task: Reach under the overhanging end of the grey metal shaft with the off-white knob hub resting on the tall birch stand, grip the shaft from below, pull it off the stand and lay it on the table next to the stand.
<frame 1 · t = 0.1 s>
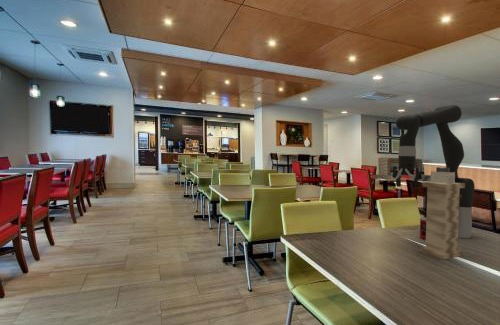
hand: (406, 187, 137), 29 cm above the table, tool pointing down, fingers open, 8 cm apart
stand: (441, 253, 125), on the table
knob shaft: (430, 181, 130), point 33 cm above the table, touching stand
canned food: (427, 239, 148), on the table
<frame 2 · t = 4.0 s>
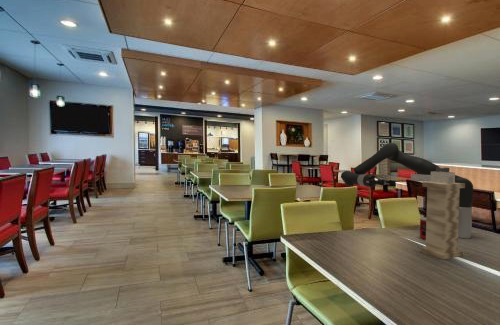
hand: (389, 183, 151), 30 cm above the table, tool horizontal, fingers open, 8 cm apart
nothing on the table moved.
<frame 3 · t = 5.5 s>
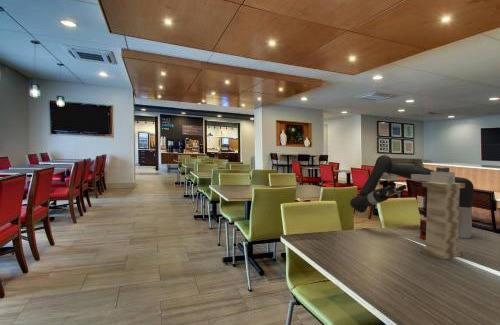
hand: (400, 186, 145), 29 cm above the table, tool pointing upward, fingers open, 8 cm apart
nothing on the table moved.
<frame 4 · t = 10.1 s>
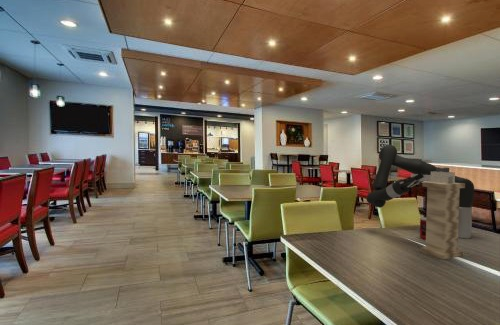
hand: (424, 175, 133), 36 cm above the table, tool pointing upward, fingers closed on knob shaft, 3 cm apart
knob shaft: (430, 181, 130), point 33 cm above the table, touching gripper, stand
everything else where it was.
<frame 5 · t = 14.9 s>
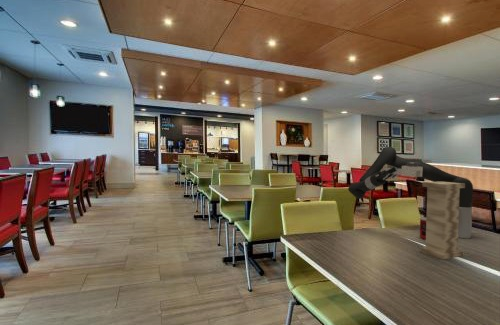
hand: (397, 168, 146), 38 cm above the table, tool pointing upward, fingers closed on knob shaft, 3 cm apart
knob shaft: (402, 174, 144), point 35 cm above the table, touching gripper
everything else where it was.
when the fingers open (10 cm above the table, at t = 19.8 s): knob shaft drops 6 cm, on the table.
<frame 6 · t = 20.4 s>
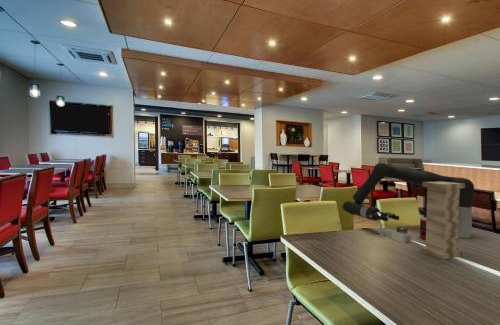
hand: (393, 218, 149), 10 cm above the table, tool horizontal, fingers open, 8 cm apart
knob shaft: (392, 237, 149), on the table
everything else where it was.
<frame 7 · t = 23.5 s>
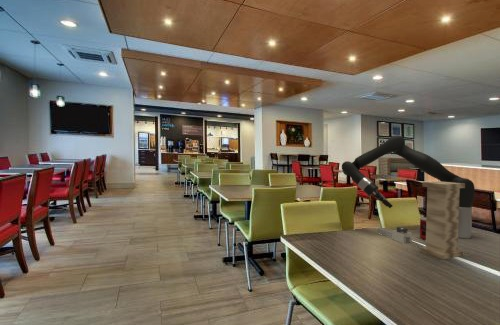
hand: (390, 206, 151), 17 cm above the table, tool tilted 50°, fingers open, 8 cm apart
nothing on the table moved.
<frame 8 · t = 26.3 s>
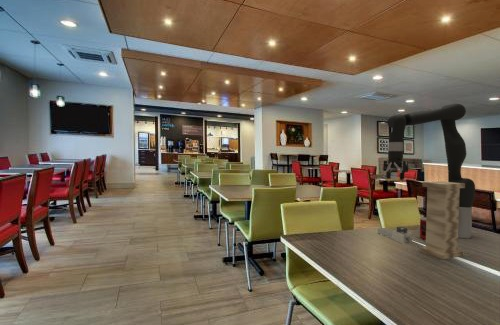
hand: (394, 179, 153), 32 cm above the table, tool pointing down, fingers open, 8 cm apart
nothing on the table moved.
at the end: knob shaft inside the target area (2.0 cm from its centre), on the table; knob shaft on the table; the gripper is holding nothing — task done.
